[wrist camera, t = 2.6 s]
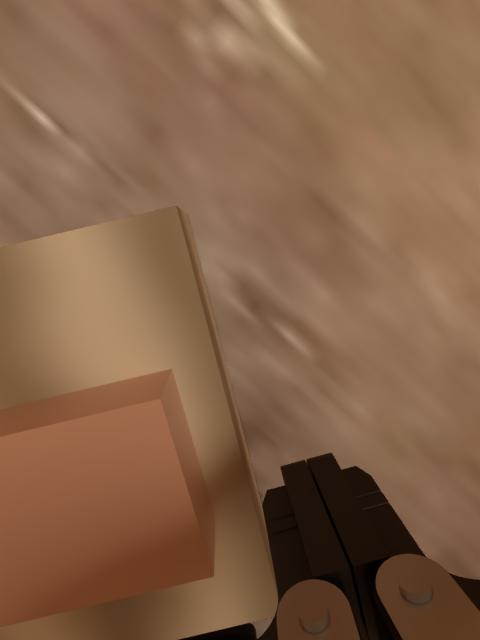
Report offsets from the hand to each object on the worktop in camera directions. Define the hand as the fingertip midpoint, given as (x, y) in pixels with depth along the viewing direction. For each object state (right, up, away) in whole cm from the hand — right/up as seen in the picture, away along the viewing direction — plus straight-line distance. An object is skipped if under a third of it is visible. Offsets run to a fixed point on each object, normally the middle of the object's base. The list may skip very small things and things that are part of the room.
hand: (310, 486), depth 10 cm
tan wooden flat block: (-8, 0, +6) cm, 10 cm away
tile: (-8, -1, +2) cm, 8 cm away
